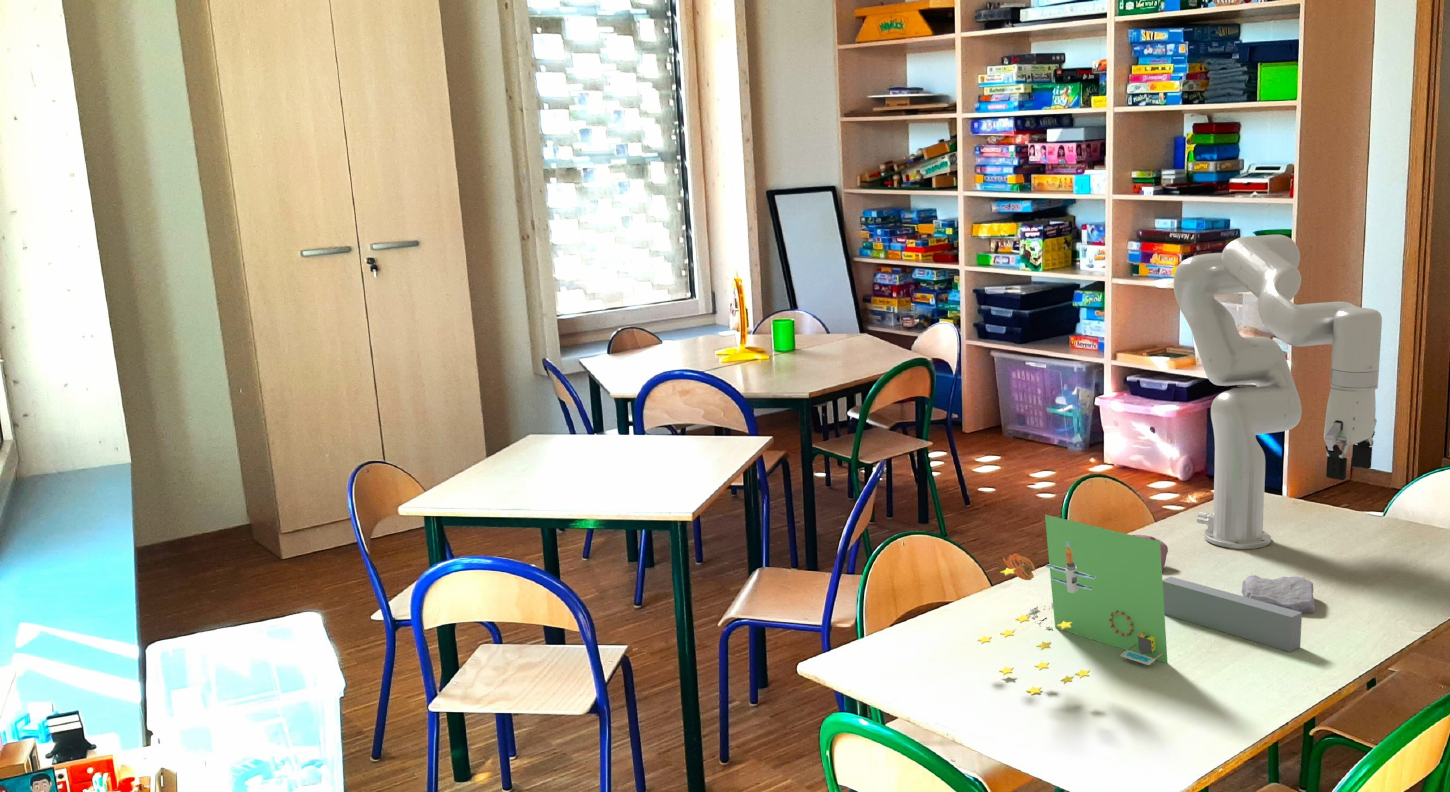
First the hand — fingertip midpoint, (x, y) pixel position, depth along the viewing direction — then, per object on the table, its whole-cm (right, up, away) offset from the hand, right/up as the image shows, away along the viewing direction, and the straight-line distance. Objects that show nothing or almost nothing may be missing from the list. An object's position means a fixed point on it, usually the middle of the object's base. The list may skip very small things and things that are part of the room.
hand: (1348, 472), depth 224 cm
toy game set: (-56, -30, -22) cm, 67 cm away
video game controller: (-30, -20, +22) cm, 42 cm away
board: (-26, -26, -10) cm, 38 cm away
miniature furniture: (-49, -25, +4) cm, 55 cm away
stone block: (-12, -24, 0) cm, 27 cm away
